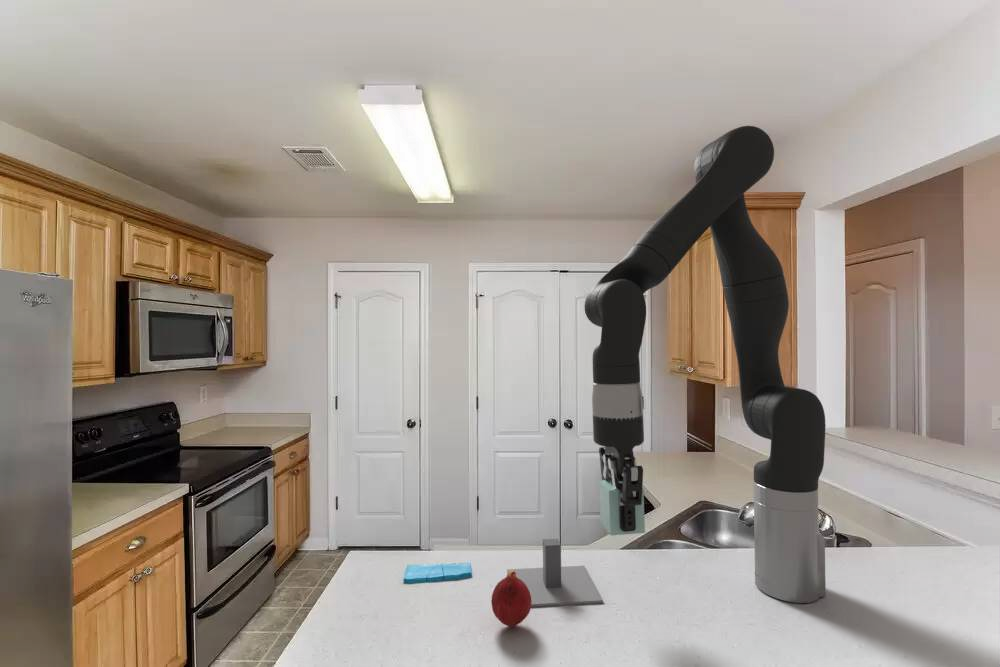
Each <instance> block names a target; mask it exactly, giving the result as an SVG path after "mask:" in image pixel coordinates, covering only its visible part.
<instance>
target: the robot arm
mask: <svg viewBox="0 0 1000 667" xmlns="http://www.w3.org/2000/svg"><path fill="white" fill-rule="evenodd" d="M774 147H775V146H774V143H773V141H772V139H771V137H770V135H768V133H767V132H765V130H763V129H762V128H760V127H757V126H755V125H744V126H742V125H741V126H739V127H737V128H734V129H730V130H729V131H728V132H726V133H724V134H723V135H721V136H720V137H718V138H716V139H715V140H713V141H711V142H710V143H708V144H707V145H706V146H703V148H702V149H700V151H699V152H698V153H697V155H696V157H695V161H694V164H693V171H694V173H693V174H694V180H695V183H696V184H694V186H692V188H690V189H689V191H687V192H686V193H685V194H684V195H683V196H682V197H681V198H680V199H679V200H677V202H676V203H674V204H673V205H672V206H671V207H669V208H668V210H666V211H665V212H664V213H663V214H661V216H659V217H658V218H657V220H655V221H654V222H653V223H652V224H651V225H650V226H649V227H648V228H647V230H646V231H645V232H644V233H643V234H642V235H641V237H640V238H639V239H638V240H637V241H636V242H635V244H634V245H633V246H632V247H631V249H629V250H628V252H627V254H626V255H625V256H624V257H623V258H622V259H621V260H620V261H618V262H617V263H616V264H615V265H614V266H613V267H611V269H609V270H608V271H607V273H605V274H604V275H603V276H602V277H601V278H600V279H599V280H598V281H597V282H596V283H595V284H594V285H593V286H592V288H591V289H590V290H589V291H588V293H587V295H586V298H585V301H584V314H585V316H586V318H587V320H588V321H590V323H591V324H593V325H594V326H597V327H601V331H600V332H601V333H600V342H599V345H596V347H595V348H594V349H593V352H592V379H593V380H592V395H591V396H592V397H591V404H592V407H591V408H592V429H593V430H592V432H593V434H592V438H593V442H594V443H595V444H596V445H598V446H600V447H599V448H598V454H599V465H600V475H601V480H606V481H612V482H613V488H614V489H616V490H618V503H619V518H620V529H621V530H622V531H623V532H628V531H634V530H635V529H636V519H635V505H641V504H642V488H643V482H644V467H643V466H642V465H638V464H637V459H636V457H635V455H634V448H635V447H639V446H641V445H642V444H643V443H644V441H645V430H644V429H645V428H644V408H643V407H644V404H643V403H644V401H643V393H642V385H641V366H640V364H641V363H640V351H641V346H642V343H643V336H644V332H645V326H646V319H647V303H646V299H645V295H644V294H645V293H646V292H647V291H648V290H651V289H653V288H655V287H657V286H658V285H660V284H661V283H662V282H663V281H664V280H665V279H666V278H668V276H669V275H670V274H671V273H672V272H673V270H674V269H675V268H676V267H677V265H678V264H679V263H680V262H681V261H682V259H683V258H684V257H685V255H686V254H687V253H688V252H689V251H690V249H691V248H692V247H693V246H694V245H695V244H696V243H697V241H698V240H699V239H700V238H701V237H702V236H703V235H704V234H705V232H706V231H707V230H708V229H709V228H710V229H709V230H710V233H711V237H712V241H713V245H714V251H715V254H716V259H717V262H718V263H717V264H718V268H719V272H720V273H719V274H720V279H721V280H720V281H721V286H722V292H723V295H724V296H723V297H724V302H725V305H726V310H727V314H728V317H729V321H730V322H729V323H730V328H731V333H732V338H733V344H734V345H733V346H734V349H735V354H736V355H735V356H736V360H737V366H738V368H737V369H738V376H739V377H738V378H739V388H740V401H741V409H742V414H743V418H744V421H745V424H746V425H747V428H749V429H750V431H752V433H754V434H755V435H756V436H759V437H761V438H763V439H767V440H770V452H769V458H768V459H765V460H760V461H759V462H756V463H755V464H754V467H753V513H754V514H753V519H754V522H753V524H754V525H753V526H754V527H753V528H754V530H753V532H754V536H753V537H754V581H755V582H754V584H755V586H756V588H758V590H760V591H761V592H762V593H764V594H766V595H767V596H770V597H773V598H775V599H778V600H781V601H785V602H790V603H797V604H806V603H808V604H809V603H814V602H816V601H818V600H819V598H821V597H823V598H824V597H826V596H827V595H826V591H827V588H826V585H827V584H826V538H825V536H824V534H821V533H820V532H819V531H820V529H819V528H820V527H819V526H820V525H819V524H820V523H819V522H820V519H819V517H820V516H819V478H820V476H821V474H822V472H823V469H824V464H825V446H826V414H825V409H824V406H823V403H822V402H821V401H820V399H819V397H818V396H817V395H816V394H814V392H811V391H810V390H807V389H804V388H799V387H792V386H785V383H784V378H783V376H782V371H781V365H780V359H779V358H780V357H779V347H780V343H781V339H782V337H783V332H784V329H785V326H786V323H787V318H788V316H789V315H788V313H789V307H790V306H789V305H790V302H789V294H788V289H787V284H786V278H785V275H784V271H783V270H784V269H783V266H782V264H781V261H780V259H779V257H778V256H777V254H776V253H775V251H773V249H772V248H771V247H770V245H769V244H768V243H767V241H766V240H765V239H764V238H763V237H762V236H761V234H760V233H759V232H758V230H757V229H756V228H755V226H754V225H753V222H752V221H751V218H750V216H749V213H748V208H747V203H746V200H745V193H746V192H747V191H748V190H750V189H751V188H752V187H753V186H754V185H756V184H757V183H758V182H759V181H760V180H761V179H763V178H764V177H765V176H766V175H767V174H768V172H769V171H770V170H771V167H772V165H773V163H774V158H775V148H774ZM601 446H602V447H601ZM618 481H623V484H621V483H619V482H618ZM622 490H623V491H622ZM630 491H631V497H628V496H629V492H630Z"/></svg>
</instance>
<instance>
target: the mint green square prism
mask: <svg viewBox="0 0 1000 667" xmlns="http://www.w3.org/2000/svg"><path fill="white" fill-rule="evenodd" d="M618 482H619V483H621V484H623V481H618ZM598 490H599V493H598V494H599V513H600V514H599V515H600V517H599V518H600V519H599V520H600V524H601V525H602V526H603V527H604V529H605V530H606V532H607V533H608V534H609V535H610V536H624V535H633V534H634V535H637V534H646V525H645V524H646V523H645V503H644V502H645V497H644V487H642V504H641V505H635V519H636V529H635V530H634V531H628V532H623V531H622V530H621V529H620V518H619V503H618V490H616V489H614V488H613V482H612V481H606V480H602V479H600V480H598ZM622 491H623V490H622ZM628 497H631V491H630V492H629V496H628Z"/></svg>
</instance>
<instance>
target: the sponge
mask: <svg viewBox="0 0 1000 667" xmlns="http://www.w3.org/2000/svg"><path fill="white" fill-rule="evenodd" d="M469 577H470V578H471V577H473V572H472V563H470V562H460V563H436V564H433V563H430V564H429V563H427V564H426V563H424V564H411V565H410V564H408V565H406V568H405V571H404V576H403V584H405V583H406V584H409V585H411V584H412V585H413V584H419V583H420V584H421V583H427V582H428V583H434V582H442V581H450V580H451V581H453V580H461V579H466V578H469Z"/></svg>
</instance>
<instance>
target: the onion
mask: <svg viewBox="0 0 1000 667" xmlns="http://www.w3.org/2000/svg"><path fill="white" fill-rule="evenodd" d="M490 601H491V608H492V612H493V614H494V616H495V618H496V619H498V621H500V623H501V624H502V625H504V626H507V627H509V628H514V627H516V626H517V625H519V624H521V623H522V622H523V621H524V620H526V618H527V617H528V615H529V614H530V612H531V608H532V607H531V602H532V601H531V595H530V592H529V589H528V587H527V586H526V584H525V583H524V582H523V581H522V580H521V579H519V578H517V577H516V572H515V571H513V570H511V571H509V572H508V573H507V575H506V577H504V578H503V579H501V580H500V581H499V582H497V583H496V585H495V587H494V588H493V591H492V594H491V600H490Z"/></svg>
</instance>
